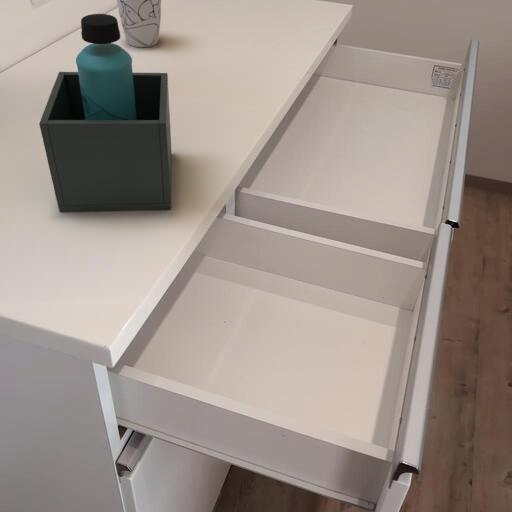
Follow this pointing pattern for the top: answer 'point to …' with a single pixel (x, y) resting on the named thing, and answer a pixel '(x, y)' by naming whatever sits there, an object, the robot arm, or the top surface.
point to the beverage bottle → (105, 71)
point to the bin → (109, 149)
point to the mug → (140, 21)
